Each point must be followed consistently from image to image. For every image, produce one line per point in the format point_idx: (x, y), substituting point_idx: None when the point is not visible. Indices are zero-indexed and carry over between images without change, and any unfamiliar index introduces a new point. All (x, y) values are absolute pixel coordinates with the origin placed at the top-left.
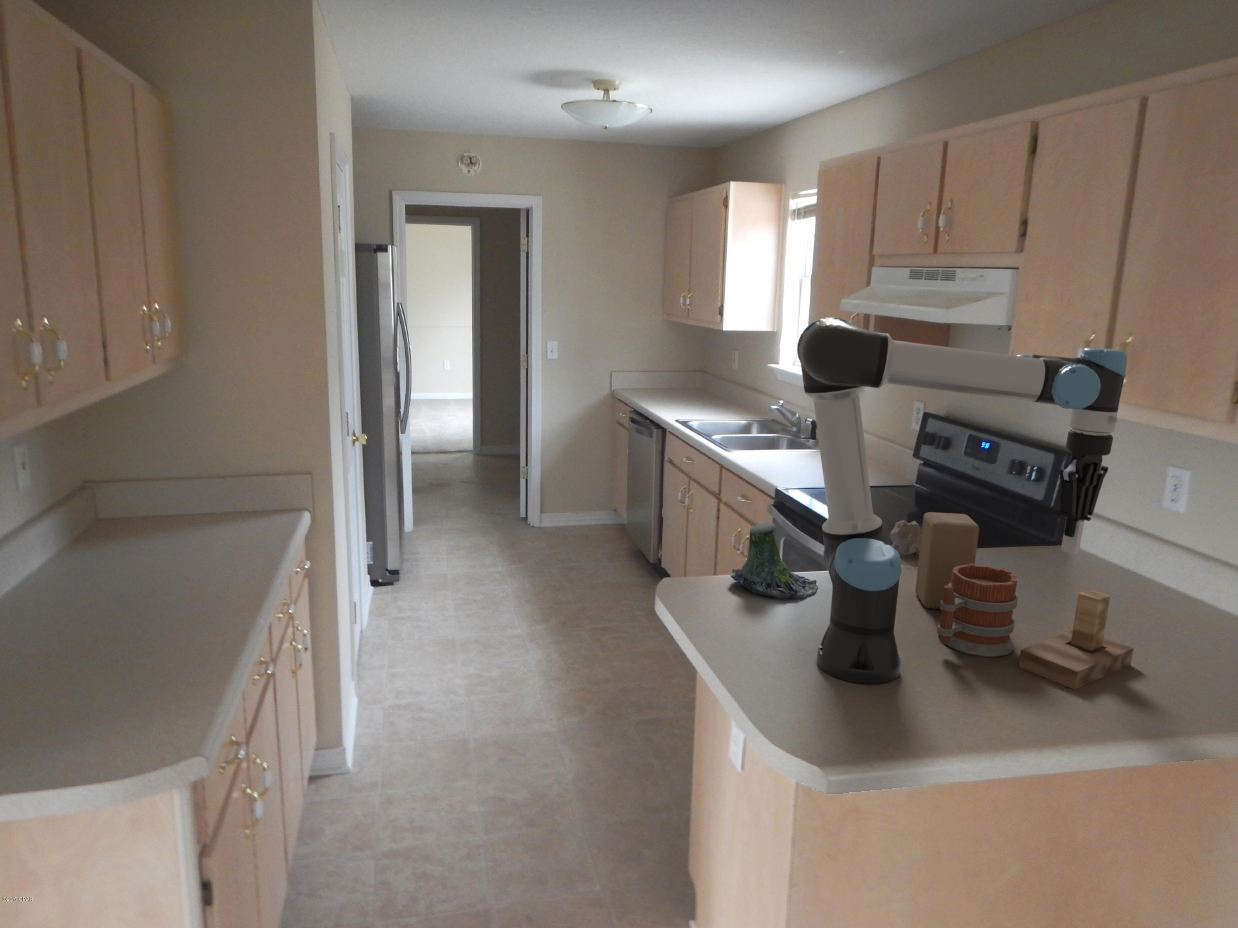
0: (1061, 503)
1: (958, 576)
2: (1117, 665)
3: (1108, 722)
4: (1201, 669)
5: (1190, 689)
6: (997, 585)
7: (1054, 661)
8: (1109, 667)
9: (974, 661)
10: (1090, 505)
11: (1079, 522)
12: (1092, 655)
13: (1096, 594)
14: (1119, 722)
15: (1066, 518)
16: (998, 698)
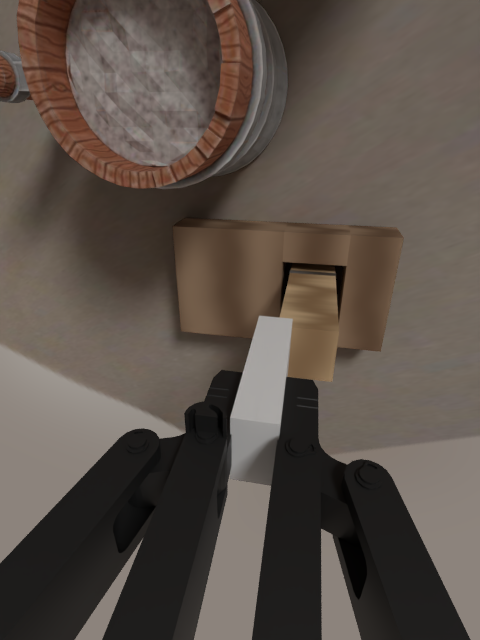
0: (61, 510)
1: (19, 21)
2: None
3: (144, 378)
4: (461, 408)
5: (351, 414)
6: (87, 168)
7: (183, 290)
8: None
9: None
10: (349, 580)
11: (231, 472)
12: None
13: (311, 357)
14: (157, 386)
15: (183, 437)
16: (59, 263)
